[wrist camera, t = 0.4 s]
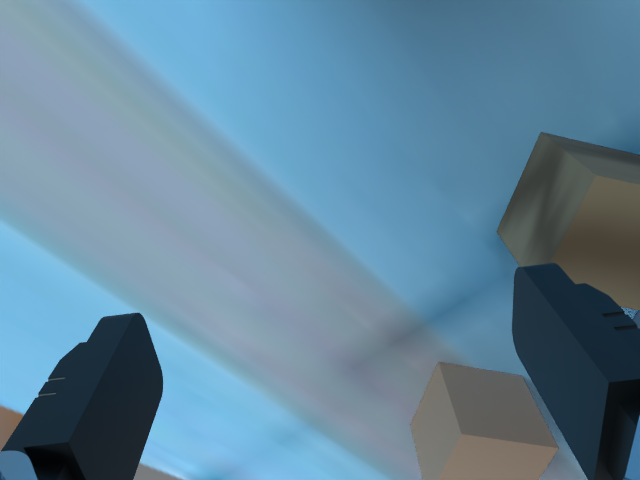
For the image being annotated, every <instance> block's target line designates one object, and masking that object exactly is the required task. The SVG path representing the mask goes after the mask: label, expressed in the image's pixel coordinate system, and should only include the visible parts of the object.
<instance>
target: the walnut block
mask: <svg viewBox="0 0 640 480" xmlns="http://www.w3.org/2000/svg"><path fill="white" fill-rule="evenodd" d="M496 232H497V233H498V235H499V236H500V238H501V239H502V241H503V242H504V244H505V245H506V247H507V248H508V249H509V251H510V252H511V254H512V255H513V257H514V258H515V260H516V261H517V263H518V264H519V266H520V267H524V266H532V265H540V264H548V263H556V264H558V265H559V266H560V267H561V269H562V270H563V271H564V272H565V273H566V274H567V275H568V276H569V278H570V279H571V280H572V281H573V282H574V283H575V284H581V283H586V284H588V285H590V286H592V287H594V288H596V289H598V290H600V291H602V292H603V293H605V294H607V295H609V296H610V297H611V298H612V299H613V300H614V301H615V302H616V303H617V304H618V305H619V306H620V307H626V308H631V309H636V310H640V155H637V154H633V153H628V152H624V151H620V150H616V149H611V148H607V147H603V146H598V145H594V144H590V143H586V142H581V141H577V140H573V139H568V138H564V137H560V136H556V135H551V134H547V133H543V132H541V133H540V135H539V138H538V140H537V142H536V144H535V146H534V149H533V151H532V153H531V155H530V158H529V160H528V162H527V164H526V167H525V169H524V171H523V173H522V176H521V178H520V180H519V182H518V184H517V187H516V189H515V191H514V193H513V196H512V198H511V200H510V202H509V205H508V207H507V209H506V211H505V214H504V216H503V218H502V220H501V223H500V225H499V227H498V229H497V231H496Z"/></svg>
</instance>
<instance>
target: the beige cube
mask: <svg viewBox="0 0 640 480" xmlns="http://www.w3.org/2000/svg"><path fill="white" fill-rule="evenodd" d="M410 425H411V430H412V434H413V439H414V443H415V448H416V452H417V457H418V461H419V466H420V470H421V475H422V479H423V480H538V479H539V478H540V476H541V475H542V473H543V472H544V470H545V469H546V467H547V466H548V464H549V463H550V461H551V460H552V458H553V457H554V455H555V454H556V452H557V450H558V449H559V448H558V446H557V444H556V442H555V440H554V438H553V436H552V434H551V432H550V430H549V428H548V426H547V424H546V422H545V420H544V418H543V416H542V414H541V412H540V410H539V408H538V406H537V404H536V402H535V400H534V399H533V397H532V395H531V393H530V391H529V389H528V387H527V385H526V383H525V381H524V379H523V377H522V376H521V375H515V374H509V373H503V372H497V371H491V370H485V369H479V368H473V367H467V366H461V365H455V364H449V363H443V362H438V363H437V366H436V368H435V370H434V372H433V375H432V377H431V379H430V381H429V384H428V386H427V388H426V390H425V392H424V395H423V397H422V399H421V401H420V404H419V406H418V408H417V410H416V413H415V415H414V417H413V419H412V422H411V424H410Z"/></svg>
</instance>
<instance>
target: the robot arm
mask: <svg viewBox="0 0 640 480" xmlns="http://www.w3.org/2000/svg"><path fill="white" fill-rule="evenodd" d="M512 334H513V341H514V345H515V349H516V352H517V354H518V357H519V359H520V360H521V362H522V364H523V366H524V367H525V369H526V371H527V373H528V374H529V376H530V378H531V380H532V382H533V383H534V385H535V387H536V389H537V390H538V392H539V394H540V396H541V397H542V399H543V401H544V403H545V404H546V406H547V408H548V410H549V412H550V413H551V415H552V417H553V419H554V420H555V422H556V424H557V426H558V427H559V429H560V431H561V433H562V434H563V436H564V438H565V440H566V442H567V443H568V445H569V447H570V449H571V450H572V452H573V454H574V456H575V457H576V459H577V461H578V463H579V464H580V466H581V468H582V470H583V472H584V473H585V475H586V477H587V479H588V480H640V328H638V327H637V324H636V323H635V322H634V321H633V320H632V319H631V318H630V317H629V316H628V315H625V314H624V311H623V310H622V308H621V307H620V306H619V305H618V304H617V303H616V302H615V301H614V300H613V299H612V298H611V297H610V296H609V295H607V294H605V293H603V292H602V291H600V290H598V289H596V288H594V287H592V286H590V285H588V284H586V283H581V284H575V283H574V282H573V281H572V280H571V279H570V278H569V276H568V275H567V274H566V273H565V272H564V271H563V270H562V269H561V267H560V266H559V265H558V264H556V263H548V264H540V265H532V266H524V267H518V268H517V269H516V271H515V276H514V296H513V319H512ZM162 392H163V376H162V370H161V367H160V364H159V361H158V358H157V355H156V352H155V349H154V346H153V343H152V340H151V337H150V334H149V331H148V328H147V325H146V322H145V319H144V317H143V316H142V315H141V314H140V313H131V314H123V315H115V316H106V317H103V318H102V319H101V320H100V321H99V323H98V324H97V326H96V328H95V329H94V331H93V333H92V334H91V336H90V338H89V339H88V341H87V342H83V343H79V344H78V345H77V346H76V347H75V348H73V349H72V350H71V351H70V352H69V353H68V354H66V355H65V356H64V357H63V358H62V359H61V360H60V361H59V362H58V364H57V365H56V367H55V369H54V370H53V372H52V373H51V375H50V376H49V378H48V382H45V384H44V386H43V387H42V389H41V390H40V392H39V393H38V395H39V396H38V397H37V398H35V399H34V401H33V403H32V404H31V406H30V407H29V409H28V410H27V412H26V413H25V415H24V416H23V418H22V420H21V421H20V423H19V424H18V426H17V427H16V429H15V431H14V432H13V433H12V435H11V437H10V438H9V440H8V442H7V443H6V445H5V446H4V447H3V449H2V450H1V452H0V480H133V479H134V476H135V473H136V470H137V467H138V464H139V461H140V458H141V455H142V452H143V450H144V447H145V444H146V441H147V438H148V435H149V432H150V429H151V426H152V423H153V421H154V418H155V415H156V412H157V409H158V406H159V403H160V400H161V397H162Z"/></svg>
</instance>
